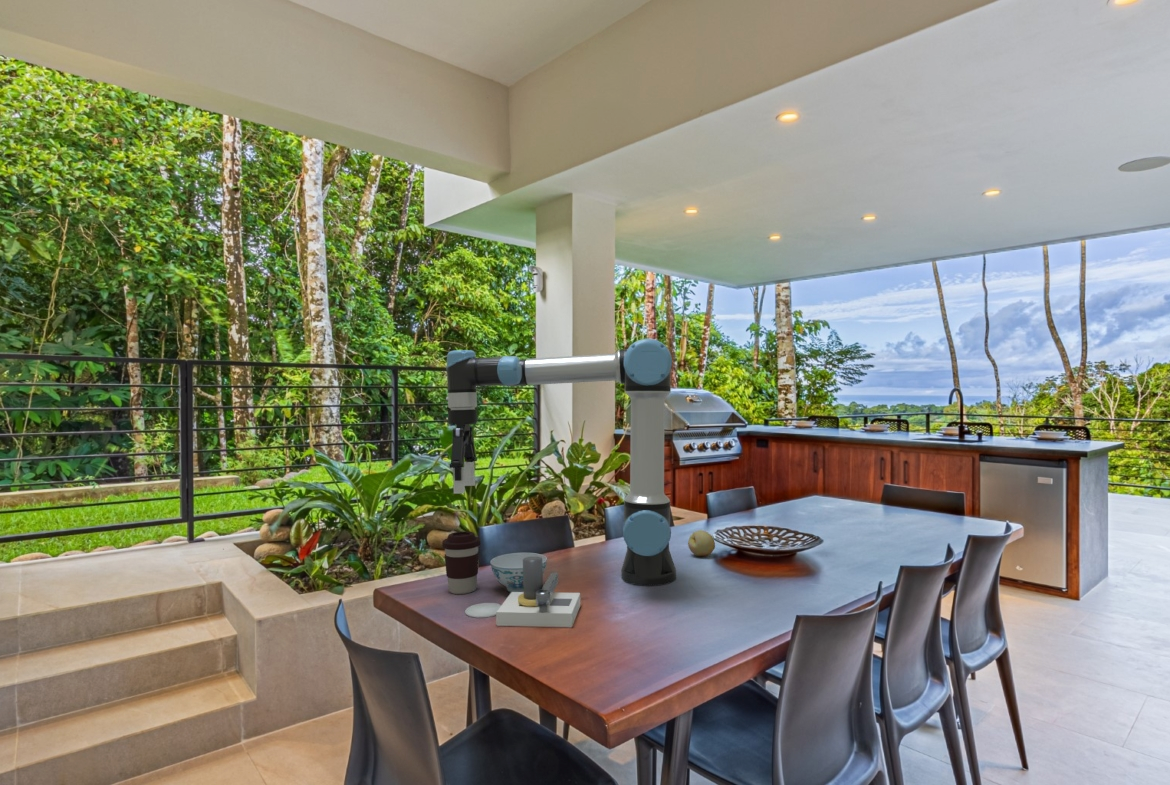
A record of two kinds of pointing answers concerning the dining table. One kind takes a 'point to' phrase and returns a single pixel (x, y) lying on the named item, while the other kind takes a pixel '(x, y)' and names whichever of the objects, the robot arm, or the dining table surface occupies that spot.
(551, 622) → the socket block
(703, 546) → the fruit
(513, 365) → the robot arm
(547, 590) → the grey lever handle
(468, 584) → the coffee cup
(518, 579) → the chinaware
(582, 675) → the dining table surface
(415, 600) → the dining table surface
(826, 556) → the dining table surface
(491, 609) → the mat
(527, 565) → the plug
